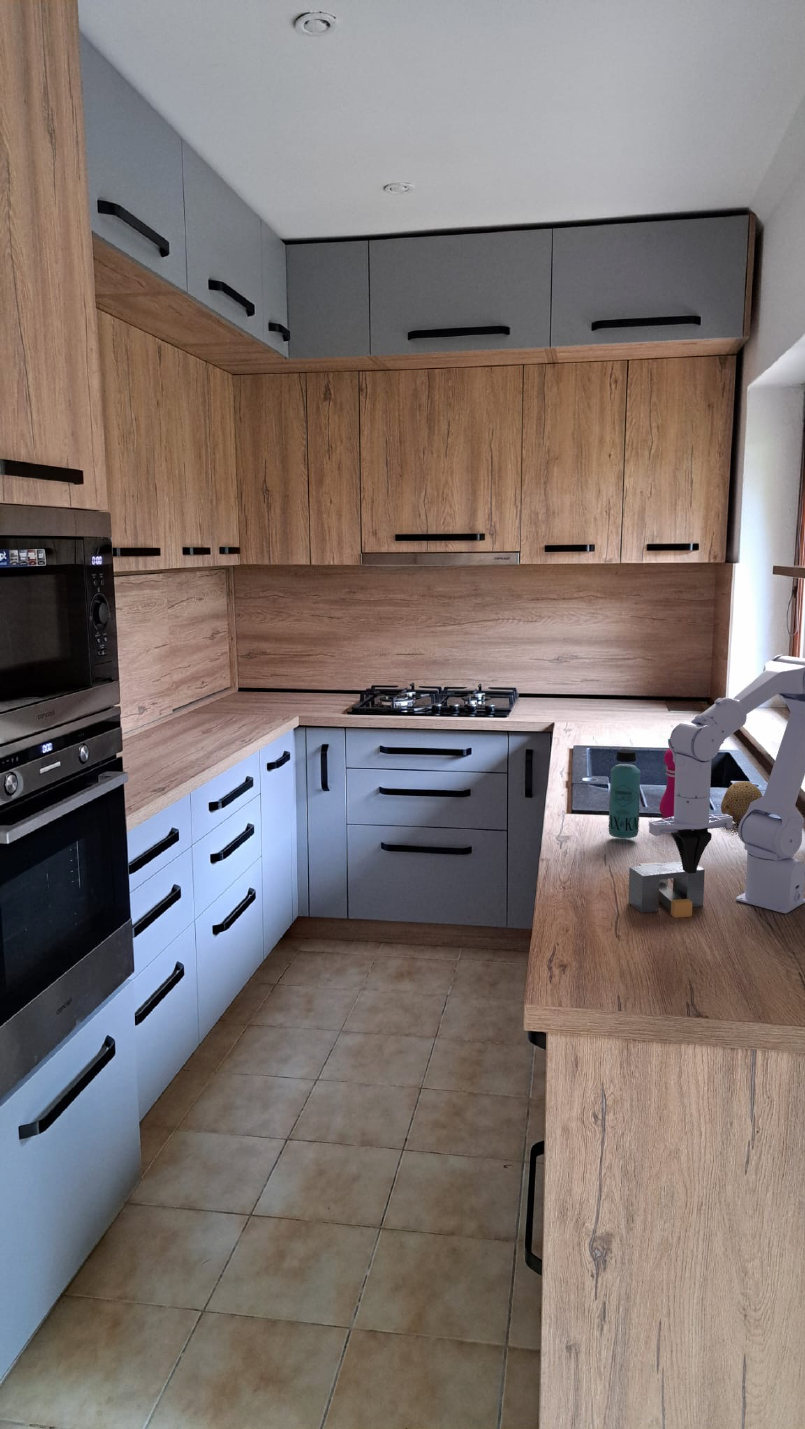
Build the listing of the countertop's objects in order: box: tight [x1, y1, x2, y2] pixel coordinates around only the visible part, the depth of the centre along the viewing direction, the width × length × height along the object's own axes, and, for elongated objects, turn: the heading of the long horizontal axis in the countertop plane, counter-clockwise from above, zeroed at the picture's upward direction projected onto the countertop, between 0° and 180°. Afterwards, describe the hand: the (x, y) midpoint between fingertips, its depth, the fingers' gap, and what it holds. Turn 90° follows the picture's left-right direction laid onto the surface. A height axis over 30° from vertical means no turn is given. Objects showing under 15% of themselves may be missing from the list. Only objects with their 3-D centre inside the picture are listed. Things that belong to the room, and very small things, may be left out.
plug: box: [638, 861, 693, 918], centre depth 177 cm, size 16×4×4 cm, turn 8°
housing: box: [628, 860, 706, 914], centre depth 175 cm, size 5×12×7 cm, turn 104°
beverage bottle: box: [607, 748, 641, 839], centre depth 210 cm, size 6×7×20 cm
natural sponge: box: [720, 780, 764, 825], centre depth 221 cm, size 9×9×10 cm
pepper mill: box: [659, 748, 675, 820], centre depth 219 cm, size 7×7×20 cm
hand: (689, 871), depth 167 cm, fingers closed
